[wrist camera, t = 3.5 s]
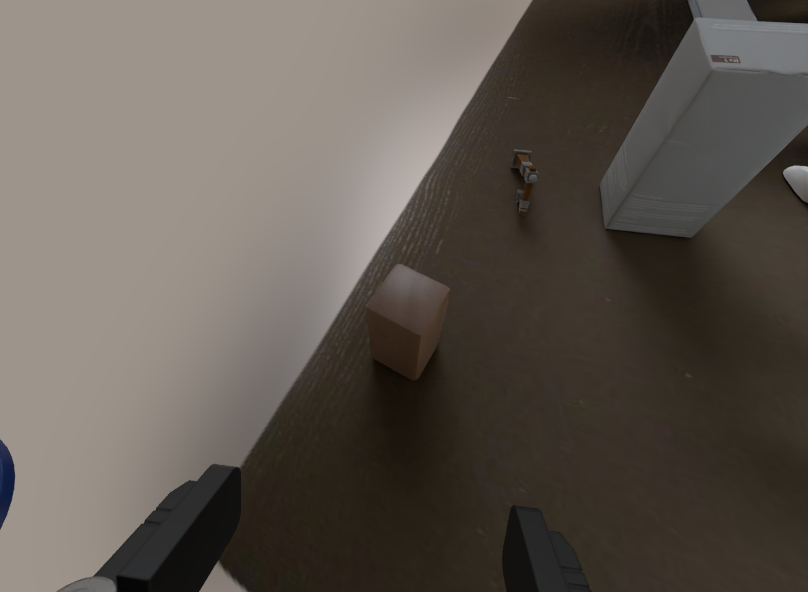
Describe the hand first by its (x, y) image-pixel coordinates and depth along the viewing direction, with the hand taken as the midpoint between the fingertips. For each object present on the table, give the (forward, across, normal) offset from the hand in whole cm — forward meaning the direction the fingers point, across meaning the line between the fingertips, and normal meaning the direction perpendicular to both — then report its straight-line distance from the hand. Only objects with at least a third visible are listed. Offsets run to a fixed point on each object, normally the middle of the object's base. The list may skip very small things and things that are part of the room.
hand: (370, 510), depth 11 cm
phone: (+63, -42, -42) cm, 87 cm away
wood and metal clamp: (+32, -10, -11) cm, 36 cm away
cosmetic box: (+31, -21, -10) cm, 39 cm away
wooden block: (+19, 0, +2) cm, 19 cm away
